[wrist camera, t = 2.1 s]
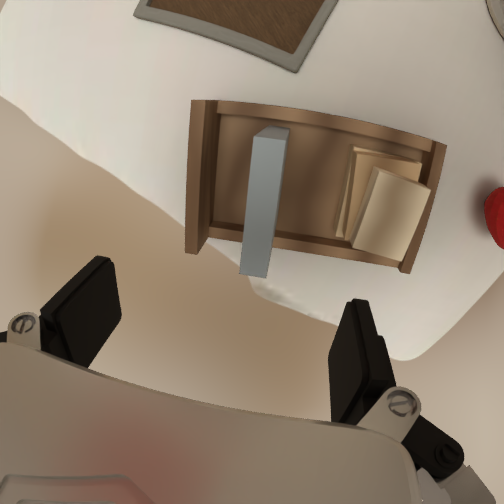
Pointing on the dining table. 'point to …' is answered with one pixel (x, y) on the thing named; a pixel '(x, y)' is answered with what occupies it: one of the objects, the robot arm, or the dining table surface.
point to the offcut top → (388, 214)
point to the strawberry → (495, 215)
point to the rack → (290, 175)
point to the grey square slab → (263, 199)
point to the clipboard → (248, 24)
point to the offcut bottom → (344, 191)
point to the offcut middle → (361, 175)
